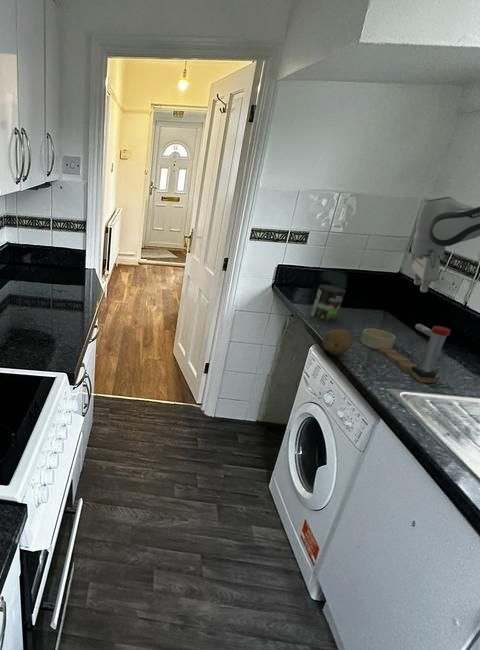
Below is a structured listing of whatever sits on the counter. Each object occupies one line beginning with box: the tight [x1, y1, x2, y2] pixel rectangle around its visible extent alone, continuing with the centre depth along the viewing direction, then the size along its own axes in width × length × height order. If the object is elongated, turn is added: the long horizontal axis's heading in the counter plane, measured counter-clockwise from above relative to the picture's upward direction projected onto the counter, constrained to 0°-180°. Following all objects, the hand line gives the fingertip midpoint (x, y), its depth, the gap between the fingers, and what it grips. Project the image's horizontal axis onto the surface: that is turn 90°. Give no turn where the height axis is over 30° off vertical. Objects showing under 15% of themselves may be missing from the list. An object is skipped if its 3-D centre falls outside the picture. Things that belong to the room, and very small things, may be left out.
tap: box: [411, 323, 452, 378], centre depth 134 cm, size 12×5×16 cm, turn 179°
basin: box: [359, 327, 397, 350], centre depth 156 cm, size 10×10×5 cm
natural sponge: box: [321, 328, 354, 356], centre depth 145 cm, size 9×9×10 cm
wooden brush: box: [377, 348, 438, 384], centre depth 141 cm, size 22×5×2 cm, turn 179°
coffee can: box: [309, 284, 347, 323], centre depth 179 cm, size 10×10×14 cm
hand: (420, 287), depth 144 cm, fingers open, 8 cm apart
